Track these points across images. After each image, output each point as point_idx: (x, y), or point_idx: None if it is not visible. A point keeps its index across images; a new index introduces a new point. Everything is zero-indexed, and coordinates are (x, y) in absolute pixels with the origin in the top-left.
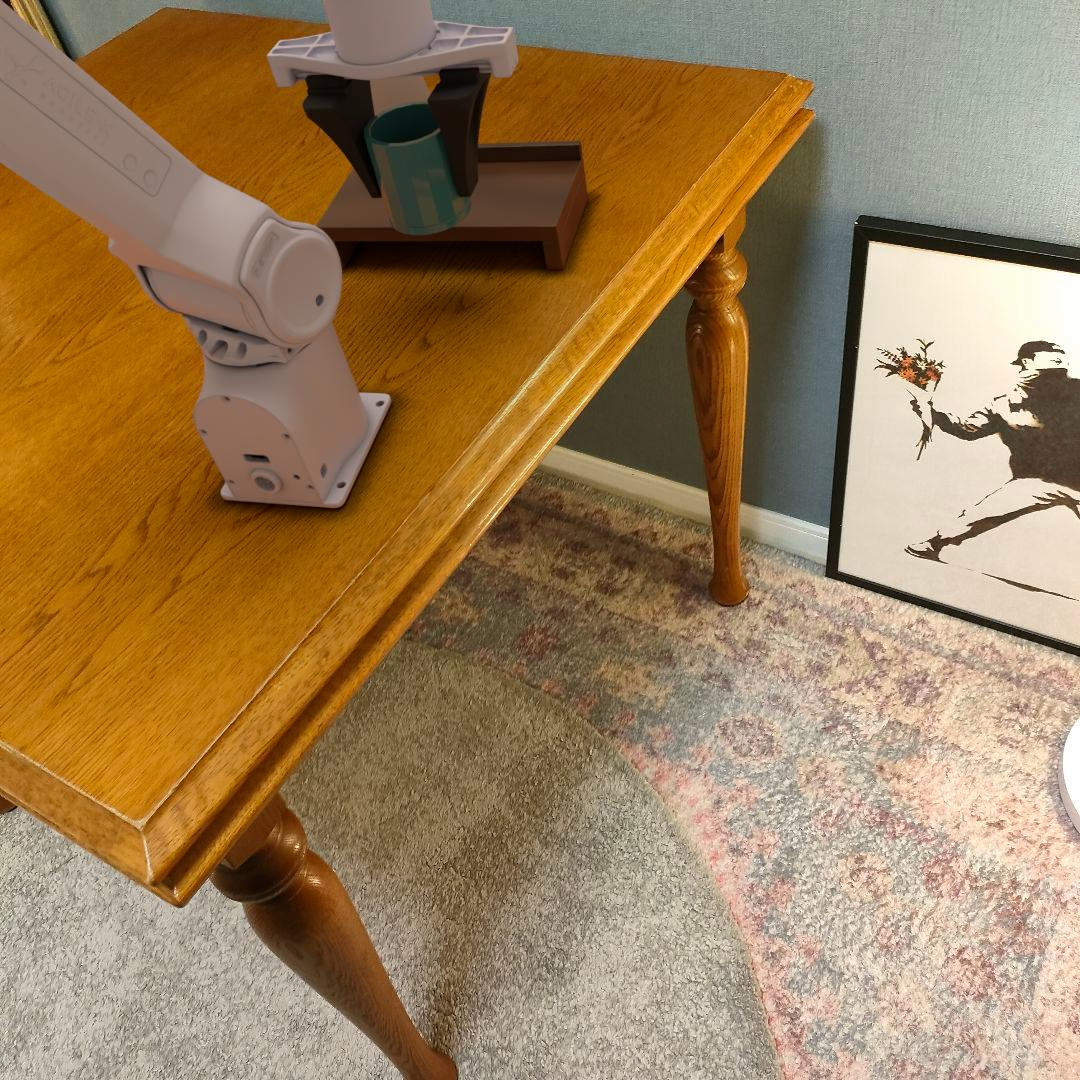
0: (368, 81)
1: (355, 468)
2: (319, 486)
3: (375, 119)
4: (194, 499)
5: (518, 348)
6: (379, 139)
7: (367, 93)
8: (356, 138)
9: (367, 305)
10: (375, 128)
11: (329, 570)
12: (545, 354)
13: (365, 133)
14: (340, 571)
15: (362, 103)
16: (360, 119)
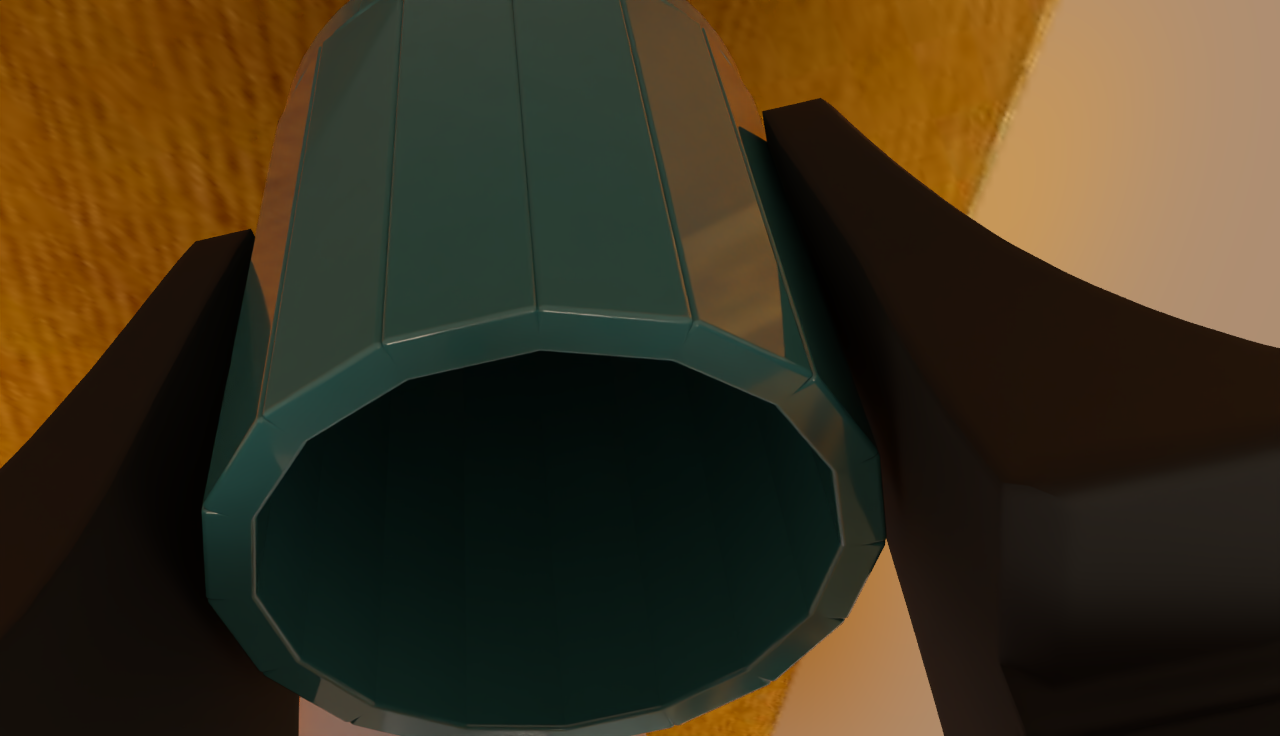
0: (23, 667)
1: None
2: None
3: (249, 587)
4: None
5: (894, 111)
6: (279, 497)
7: (86, 654)
8: (283, 721)
9: (149, 62)
10: (271, 571)
11: (724, 718)
12: (999, 111)
13: (320, 700)
14: (746, 713)
15: (156, 714)
16: (218, 707)
